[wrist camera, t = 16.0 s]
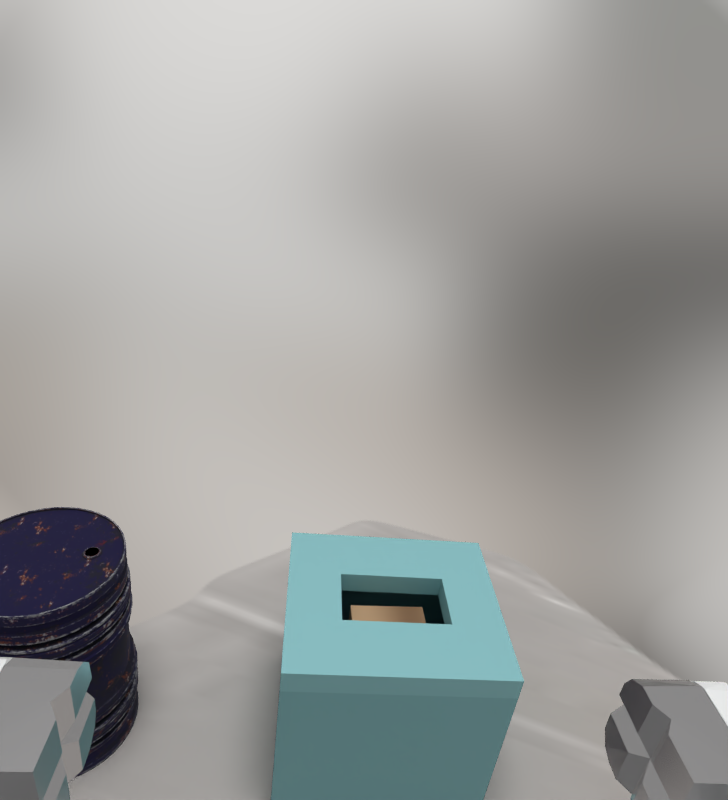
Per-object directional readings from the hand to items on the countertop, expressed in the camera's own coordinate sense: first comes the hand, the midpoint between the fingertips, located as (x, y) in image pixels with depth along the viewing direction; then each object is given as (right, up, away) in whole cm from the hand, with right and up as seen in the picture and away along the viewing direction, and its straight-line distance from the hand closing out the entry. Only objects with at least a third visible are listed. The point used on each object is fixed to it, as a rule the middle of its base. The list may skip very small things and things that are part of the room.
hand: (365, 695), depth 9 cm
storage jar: (-21, -18, +34) cm, 44 cm away
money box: (0, -20, +36) cm, 41 cm away
